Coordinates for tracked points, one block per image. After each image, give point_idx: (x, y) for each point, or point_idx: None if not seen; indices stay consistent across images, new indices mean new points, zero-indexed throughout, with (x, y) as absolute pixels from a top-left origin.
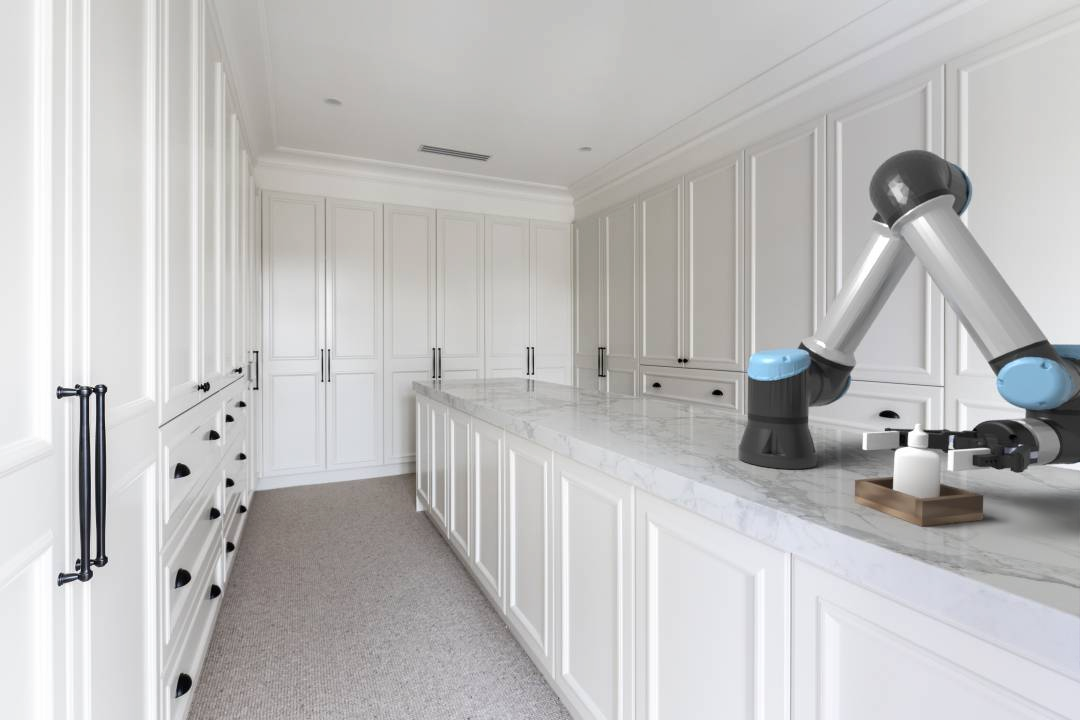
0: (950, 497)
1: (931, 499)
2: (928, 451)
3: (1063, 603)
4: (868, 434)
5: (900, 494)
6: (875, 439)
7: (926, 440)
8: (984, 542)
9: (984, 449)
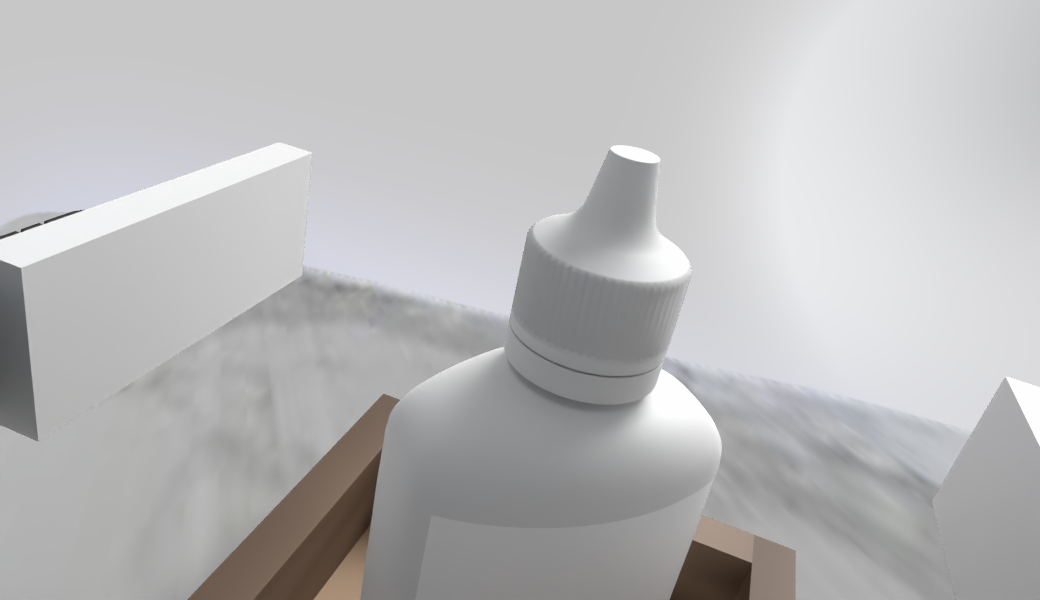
0: (276, 528)
1: (357, 436)
2: (481, 360)
3: (16, 225)
4: (1002, 392)
5: None
6: (997, 487)
7: (520, 276)
8: (123, 465)
9: (45, 226)
